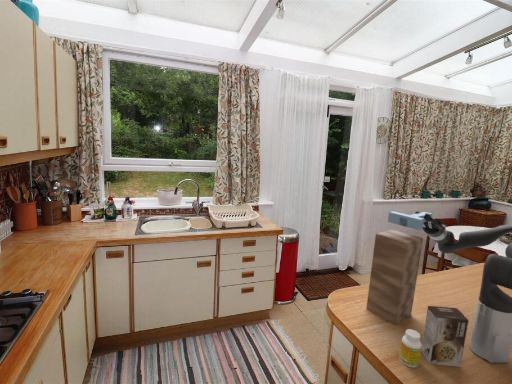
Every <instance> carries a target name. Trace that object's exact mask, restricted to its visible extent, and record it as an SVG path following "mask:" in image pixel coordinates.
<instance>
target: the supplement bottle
mask: <svg viewBox="0 0 512 384" xmlns="http://www.w3.org/2000/svg"><path fill="white" fill-rule="evenodd" d="M421 347H422V340H421V333H420V332H418V331H417V330H415V329H411V328H408V329H406V330H405V333H404V335H403V336H402V337H401V343H400V350H399V355H398V358H399V361H400V362H401V363H403V364H404V365H405V366H407V367H410V368H417V367H419V364H420V358H421V353H422V351H421Z"/></svg>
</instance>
